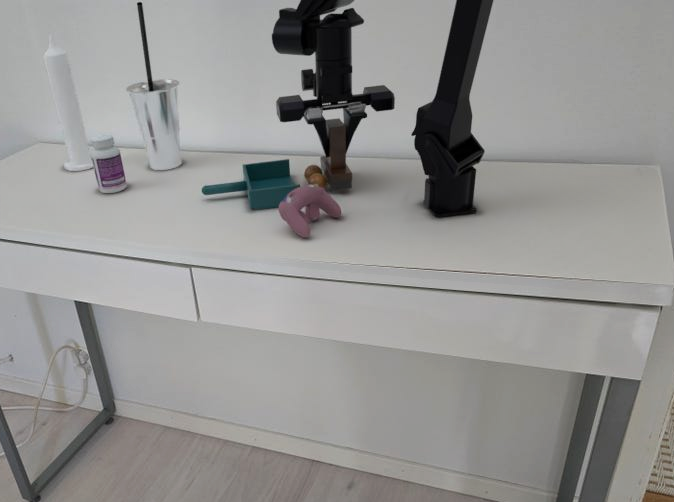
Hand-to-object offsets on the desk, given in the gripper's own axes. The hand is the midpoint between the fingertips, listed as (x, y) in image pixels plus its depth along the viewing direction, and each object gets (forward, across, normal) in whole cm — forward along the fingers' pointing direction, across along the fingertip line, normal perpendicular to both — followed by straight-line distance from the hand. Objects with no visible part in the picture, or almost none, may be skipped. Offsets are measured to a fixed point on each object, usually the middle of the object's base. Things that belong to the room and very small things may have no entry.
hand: (335, 155), depth 114 cm
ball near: (+4, +4, +2) cm, 6 cm away
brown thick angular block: (+4, 0, 0) cm, 4 cm away
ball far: (+4, +4, -2) cm, 6 cm away
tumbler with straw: (+5, +30, -22) cm, 38 cm away
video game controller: (+5, +7, +16) cm, 18 cm away
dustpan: (+5, +15, 0) cm, 16 cm away
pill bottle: (+5, +40, -12) cm, 42 cm away
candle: (+5, +48, -29) cm, 57 cm away
